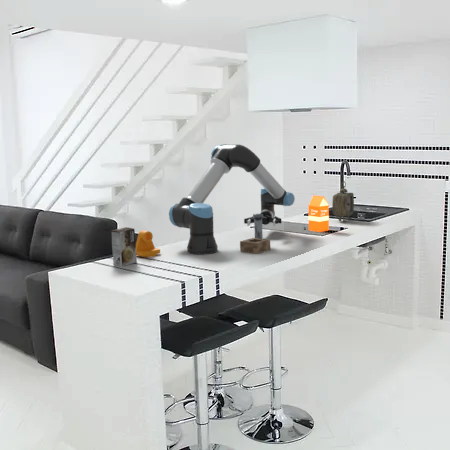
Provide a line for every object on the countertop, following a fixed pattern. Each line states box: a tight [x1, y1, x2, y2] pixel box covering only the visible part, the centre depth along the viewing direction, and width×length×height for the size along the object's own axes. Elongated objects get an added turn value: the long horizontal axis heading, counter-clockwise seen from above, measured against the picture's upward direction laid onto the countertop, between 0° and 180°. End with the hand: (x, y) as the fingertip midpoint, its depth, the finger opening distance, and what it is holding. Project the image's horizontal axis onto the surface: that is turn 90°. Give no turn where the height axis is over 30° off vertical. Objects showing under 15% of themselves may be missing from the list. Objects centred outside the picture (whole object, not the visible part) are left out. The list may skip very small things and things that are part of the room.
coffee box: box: [110, 227, 138, 267], centre depth 266 cm, size 9×6×16 cm
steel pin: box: [252, 213, 264, 239], centre depth 298 cm, size 5×5×16 cm
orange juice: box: [307, 194, 330, 233], centre depth 335 cm, size 8×9×20 cm
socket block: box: [239, 237, 271, 255], centre depth 286 cm, size 10×10×5 cm
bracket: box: [135, 229, 161, 258], centre depth 283 cm, size 11×7×12 cm, turn 132°
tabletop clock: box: [331, 180, 355, 223], centre depth 364 cm, size 14×9×25 cm, turn 148°
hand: (260, 223), depth 307 cm, fingers open, 13 cm apart
